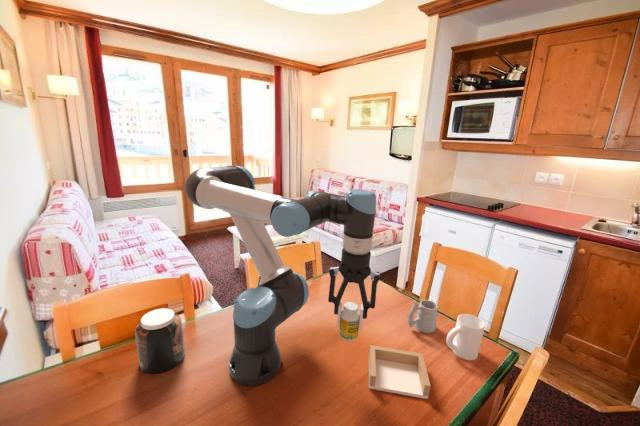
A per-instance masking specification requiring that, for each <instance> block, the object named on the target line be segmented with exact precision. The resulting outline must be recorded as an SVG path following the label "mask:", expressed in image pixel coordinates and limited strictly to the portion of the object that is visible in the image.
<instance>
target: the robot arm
mask: <svg viewBox="0 0 640 426" xmlns="http://www.w3.org/2000/svg"><path fill="white" fill-rule="evenodd" d="M255 185H256V181H255V178H254V176H253V174H252V173H251V171H250V170H248V169H247V168H246V167H244V166H242V165H241V166H240V165H233V164H232V165H226V166H215V167H203V168H199V169H196V170H194V171H193V172H191V173H190V174H189V175H188V176H187V178H186V180H185V181H184V193H185V196H186V198H187V199H188V200H189V202H191V203H192V204H193V205H195V206H197V207H199V208H202V209H206V210H214V209H218V210H220V211H223V212H225V213H228V214H229V216H230V219H232V221H233V224H234V226H235V228H236V230H237V232H238V233H239V236H240V238H241V241H242V242H243V245H244V246H245V248H246V250H247V252H248V254H249V256H250V259H251V260H252V262H253V264H254V267H255V268H256V270H257V272H258V274H259V276H260V280H259V284H258V285H259V286H256V287H250V288H247V289H246V290H244V291H242V292H241V293H239V295H238V296H237V297H236V299H235V300H234V302H233V311H232V320H233V329H234V330H233V335H234V336H233V337H234V345H233V349H232V352H231V354H230V358H229V360H228V368H229V369H228V370H229V374H230V376H231V379H232V380H233V381H235V382H236V383H238V384H240V385H243V386H249V387H251V386H252V387H253V386H259V385H263V384H265V383H267V382H269V381H270V380H272V379H273V378H274V377H275V376H276V375H277V373H278V372H279V370H280V368H281V363H282V362H281V360H282V359H281V358H282V354H281V351H280V350H279V346H278V345H277V342H276V329H277V327H279V326H280V325H281V324H283V323H284V322H285V321H286V320H287V319H289V318H290V317H291V316H292V315H294V314H295V313H297V312H298V311H300V310H302V307H303V306H304V305H305V304H307V302H308V299H309V295H310V290H309V289H310V288H309V286H308V285H309V284H308V282H307V280H306V279H305V277H304V276H303V275H301V274H300V273H298V272H294V271H293V269H292V267H290V266H288V265H285V263H284V261H283V259H282V257H281V255H280V253H279V251H278V249H277V248H276V245H275V244H274V241H273V239H272V238H271V235H270V233H269V232H268V230H267V228H266V225H267V224H268V225H271V226H272V228H273V230H274V231H275V232H276V233H277V234H278V235H279V236H282V237H283V238H284V237H285V238H289V237H293V236H299V235H301V234H302V233H304V232H306V231H308V230H311V229H313V228H315V227H317V226H319V225H323V224H324V223H327V222H328V223H334V224H337V225H343V232H342V233H343V235H342V244H341V245H342V249H341V257H340V258H341V260H340V261H341V262H340V264H339V266H334V265H331V266H330V268H329V269H328V273H329V277H330V279H329V281H330V282H329V290H328V291H329V292H328V302H329V303H332V304H334V308H333V313H334V314H333V315H337V319H336V320H337V322H336V327H337V328H338V327H339V328H340V317H341V312H342V310H343V301H342V299H343V298H342V297H343V295H344V292H345V290H346V288H347V286H348V284H349V283H354V284H357V285H358V289H359V292H360V297H361V301H362V303H361V304H360V307H359V310H360V311H359V314H360V319H359V328H358V331H362V327H363V326H362V325H363V319H365V320H366V319H367V318H368V310H369V309H375V307H376V299H377V298H376V297H377V287H378V282H379V281H380V279H381V275H380V272H379V271H373V270H372V269H371V267H370V264H371V255H372V251H371V250H372V247H373V239H374V227H375V220H376V219H375V218H376V213H377V195H376V193H375V192H373V191H371V190H367V189H350V190H348V191H347V192H346V195H341V194H335V193H331V192H326V191H323V190H319V191H318V190H310V191H309V192H307V194H306V195H305V196H304V198H300V199H296V198H295V199H294V198H290V197H286V196H282V195H278V194H274V193H270V192H266V191H261V190H257V189H256V186H255ZM265 224H266V225H265ZM339 273H340V275H341V276H342V282H341V284H340V287H339V289H338V290H337V291H338V292H337V294H336V296H335V288H336V279H337V275H339ZM369 276H370V280H371V290H370V300H368V297H367V296H368V295H367V292H366V290H367V289H366V286H365V280H366V279H367V278H369Z"/></svg>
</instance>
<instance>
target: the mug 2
mask: <svg viewBox="0 0 640 426" xmlns="http://www.w3.org/2000/svg"><path fill="white" fill-rule="evenodd" d="M485 326H486V325H485V323H484V321H483V320H482V319H481V318H479V317H477V316H475V315H473V314H470V313H460V314H459V315H458V316H457V319H456V324H455V327H453V328H451V330H449V332H448V333H447V336H446V341H445V342H446V345H447V346H448V348H450V349H451V351H452V352H453V353H454V354H455V355H456V357H458V358H460V359H463V360H466V361H475V360H476V359H477V358H478V357H479V352H480V348H481V343H482V339H483V336H484V331H485Z"/></svg>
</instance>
